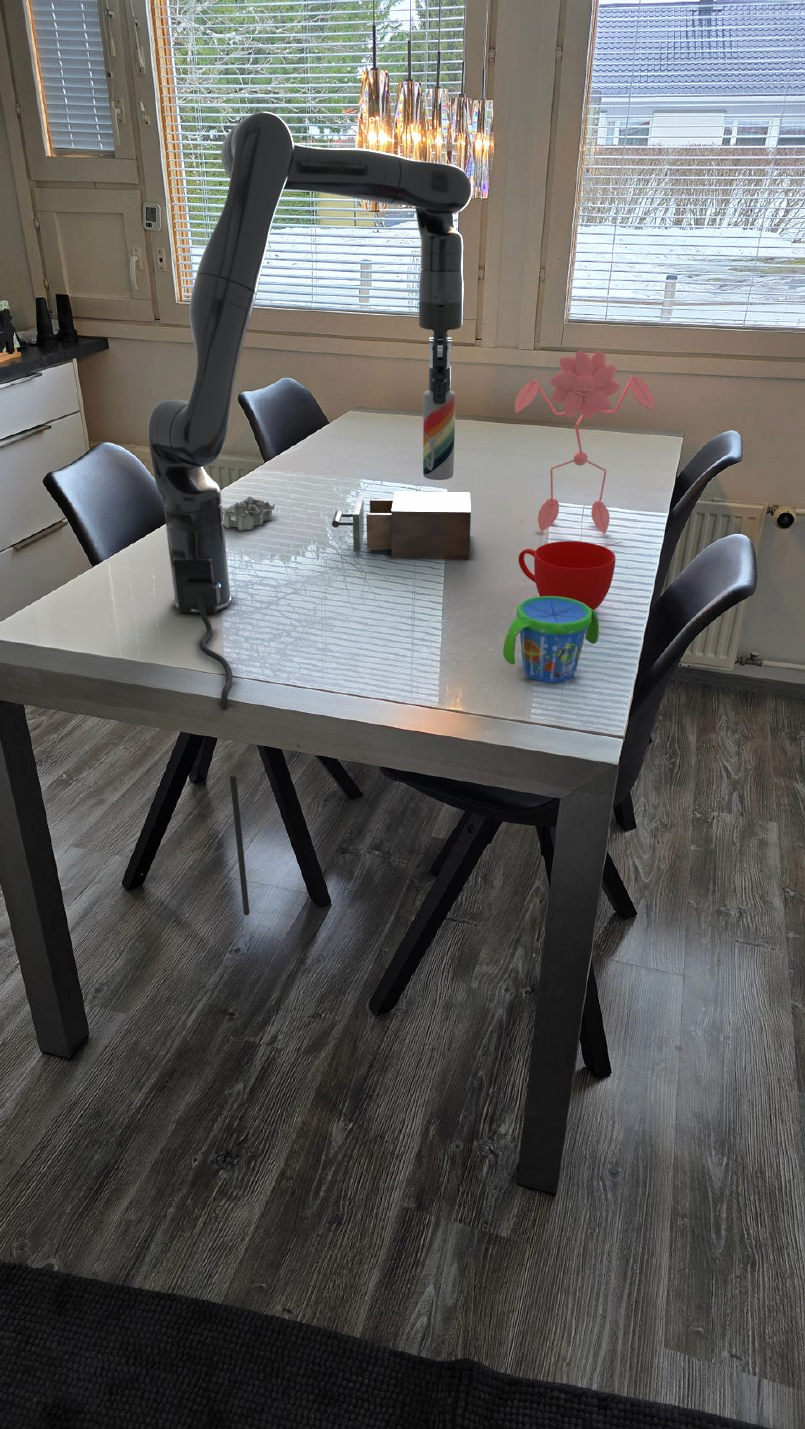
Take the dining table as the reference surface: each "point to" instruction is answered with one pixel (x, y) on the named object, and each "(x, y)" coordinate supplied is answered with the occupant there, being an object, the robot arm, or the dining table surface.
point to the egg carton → (247, 514)
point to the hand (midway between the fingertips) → (439, 399)
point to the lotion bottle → (438, 432)
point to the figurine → (583, 413)
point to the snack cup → (551, 636)
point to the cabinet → (431, 525)
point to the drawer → (369, 523)
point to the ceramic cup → (571, 571)
